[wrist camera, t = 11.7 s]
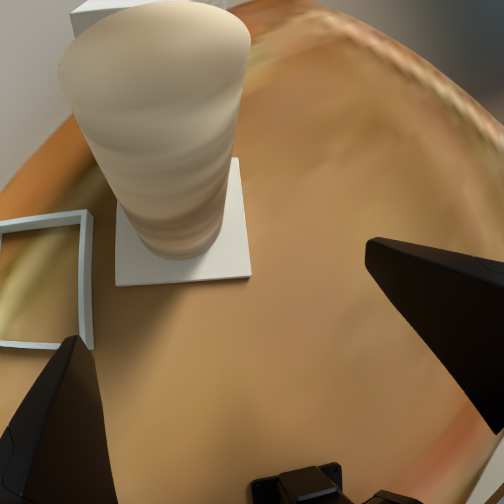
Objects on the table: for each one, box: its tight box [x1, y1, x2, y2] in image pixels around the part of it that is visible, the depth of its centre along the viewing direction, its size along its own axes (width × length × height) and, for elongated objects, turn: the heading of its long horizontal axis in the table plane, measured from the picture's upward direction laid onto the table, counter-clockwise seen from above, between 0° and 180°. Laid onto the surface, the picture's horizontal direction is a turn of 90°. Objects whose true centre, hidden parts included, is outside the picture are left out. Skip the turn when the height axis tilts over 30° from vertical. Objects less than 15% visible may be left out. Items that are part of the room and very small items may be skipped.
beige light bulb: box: [58, 1, 251, 260], centre depth 14 cm, size 6×6×14 cm
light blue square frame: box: [0, 209, 94, 350], centre depth 17 cm, size 9×9×2 cm
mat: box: [115, 158, 252, 287], centre depth 21 cm, size 9×9×1 cm
